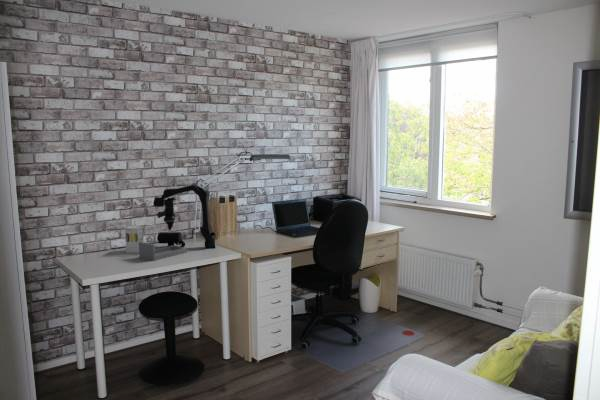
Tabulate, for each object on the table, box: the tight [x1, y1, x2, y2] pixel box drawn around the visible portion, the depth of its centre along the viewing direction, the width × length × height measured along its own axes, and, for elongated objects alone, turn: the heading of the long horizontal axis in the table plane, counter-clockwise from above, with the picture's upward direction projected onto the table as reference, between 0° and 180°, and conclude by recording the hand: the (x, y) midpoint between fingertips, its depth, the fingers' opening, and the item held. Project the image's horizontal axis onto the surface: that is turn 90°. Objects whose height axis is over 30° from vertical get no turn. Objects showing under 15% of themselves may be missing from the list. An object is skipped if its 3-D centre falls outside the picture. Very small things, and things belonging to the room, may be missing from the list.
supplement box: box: [124, 225, 145, 254], centre depth 331 cm, size 10×9×17 cm
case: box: [139, 242, 188, 262], centre depth 319 cm, size 27×14×10 cm, turn 144°
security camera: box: [156, 231, 186, 247], centre depth 343 cm, size 7×18×10 cm, turn 89°
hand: (170, 229), depth 341 cm, fingers open, 9 cm apart
